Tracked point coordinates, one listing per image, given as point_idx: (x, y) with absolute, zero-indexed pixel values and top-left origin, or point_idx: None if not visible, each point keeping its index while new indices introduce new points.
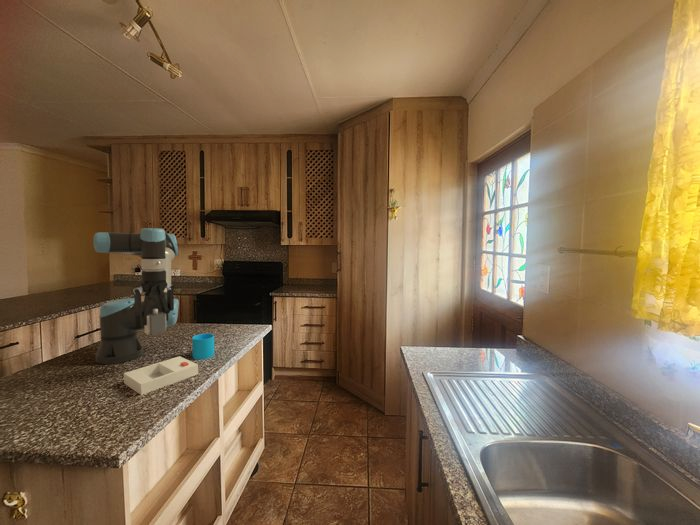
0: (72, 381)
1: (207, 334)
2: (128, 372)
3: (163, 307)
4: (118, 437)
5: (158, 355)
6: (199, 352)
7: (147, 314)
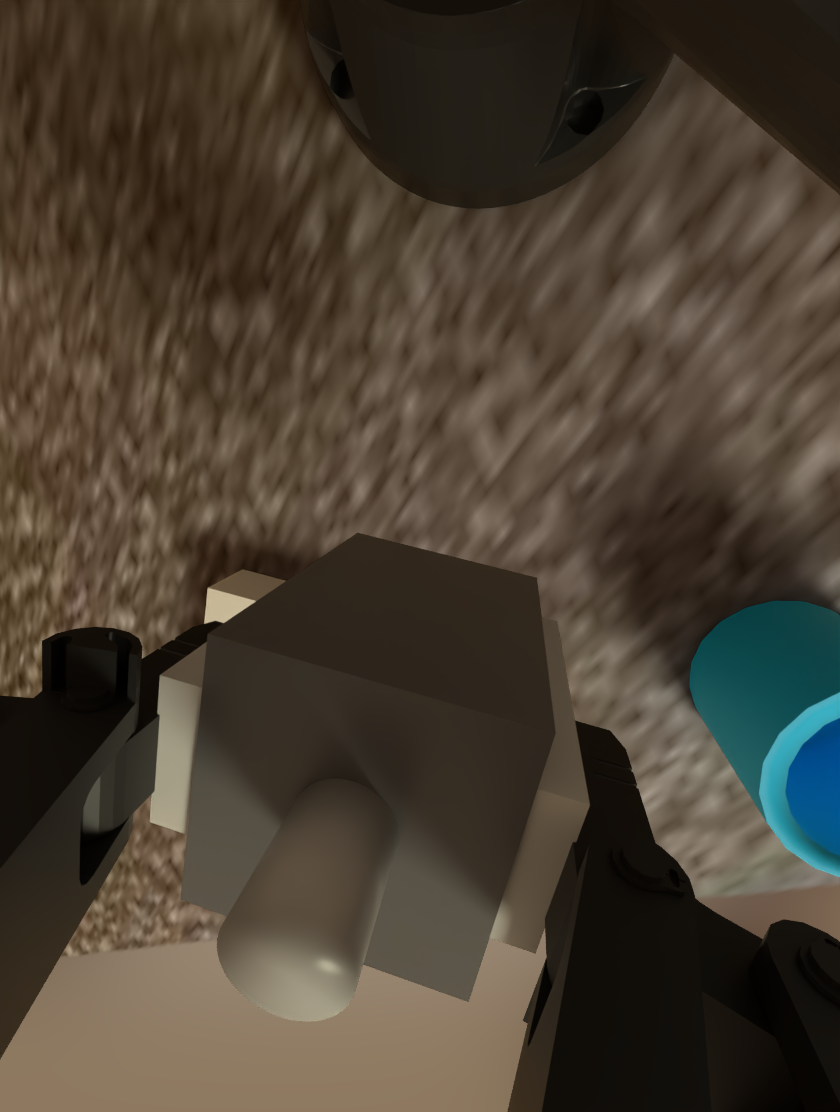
0: (107, 246)
1: None
2: (227, 603)
3: (516, 1107)
4: None
5: (651, 320)
6: (714, 736)
7: (113, 861)
